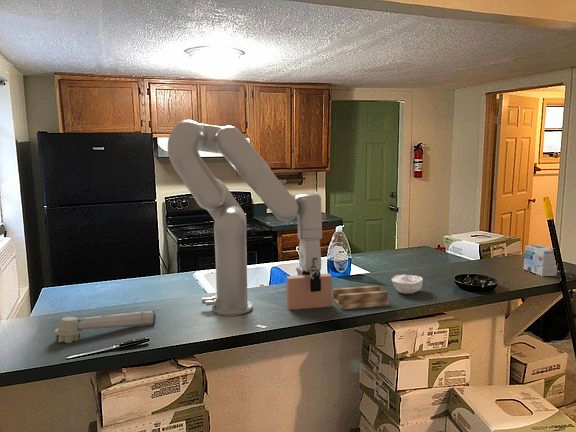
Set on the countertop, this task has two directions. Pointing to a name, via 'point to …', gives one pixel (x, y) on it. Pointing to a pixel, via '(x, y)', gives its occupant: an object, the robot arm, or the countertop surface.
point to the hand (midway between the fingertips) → (311, 286)
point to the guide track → (360, 297)
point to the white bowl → (407, 283)
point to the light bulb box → (540, 260)
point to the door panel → (308, 292)
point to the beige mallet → (101, 324)
